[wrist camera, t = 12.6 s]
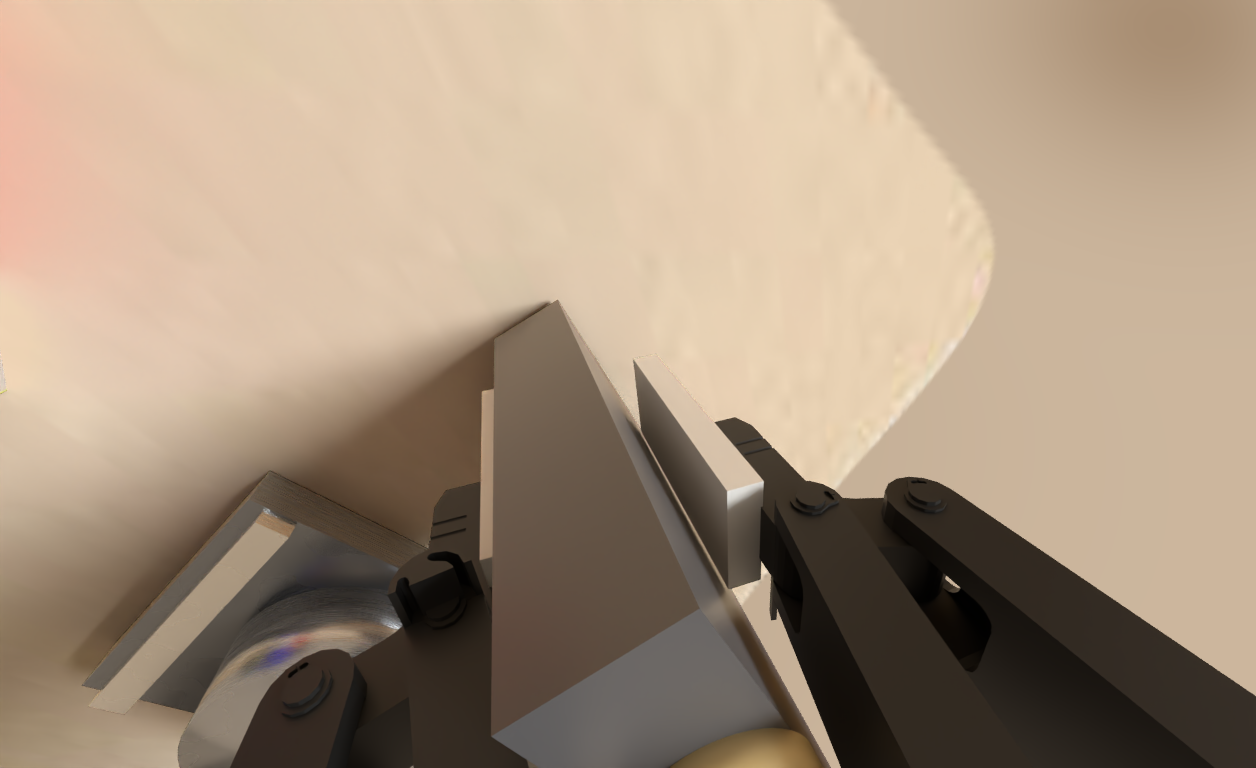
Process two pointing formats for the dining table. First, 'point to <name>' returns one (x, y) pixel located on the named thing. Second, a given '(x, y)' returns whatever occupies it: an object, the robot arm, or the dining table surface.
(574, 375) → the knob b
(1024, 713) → the robot arm
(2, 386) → the puzzle toy
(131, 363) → the dining table surface
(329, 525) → the levelling plate
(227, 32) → the dining table surface
